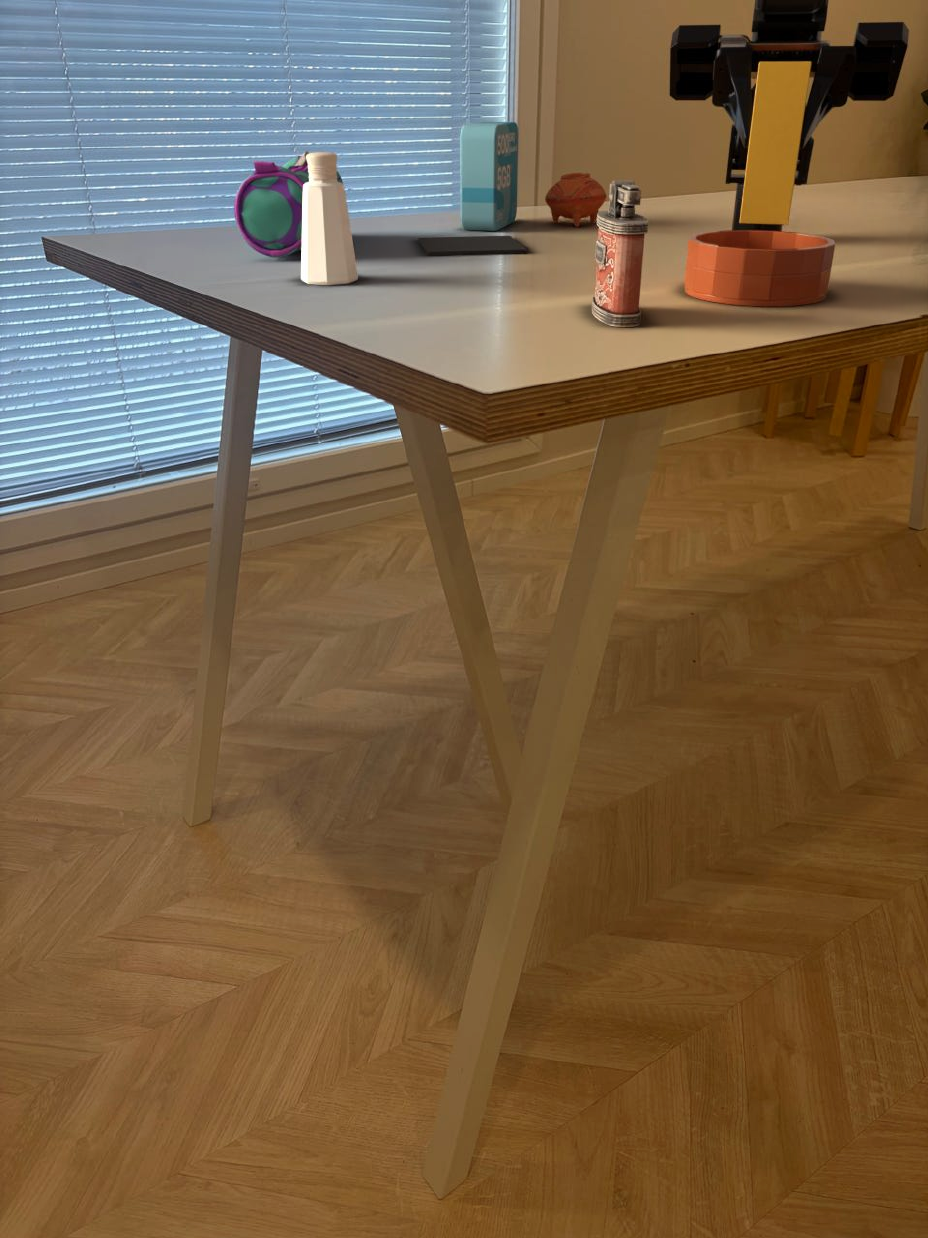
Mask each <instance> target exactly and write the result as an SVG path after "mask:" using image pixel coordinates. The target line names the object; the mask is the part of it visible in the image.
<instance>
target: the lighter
mask: <svg viewBox="0 0 928 1238" xmlns="http://www.w3.org/2000/svg"><path fill="white" fill-rule="evenodd" d="M608 195H609V196H608V197H609V203H608V209H607V210H601V211H598V212H597V218H596V226H598V234H597V236H598V237H597V240H596V242H595V255H594V259H595V262H596V269H595V285H594V287H595V288H594V296H592V298H591V313H592V315H593V316H594V318H595V319H597V320H599V321H600V322H602V323H603V324H606V325H608V326H611V327H618V328H631V327H637V326H640V325H641V319H642V316H641V315H642V311H641V308H640V299H641V298H640V296H641V285H642V273H643V259H644V248H645V237H646V236H645V235H646V234H647V233H648V232H649V231H648V230H649V220H648V218H647V217H645V216H643V215H641V214H638V213H636V206H641V199H642V190H641V189H640V187H639V186H638V185H636V182H635V180H634V179H631V180H630V179H626V180H625V179H623V180H621V179H615V180H614V179H613V180H612V181H611V183H609V192H608Z"/></svg>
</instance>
